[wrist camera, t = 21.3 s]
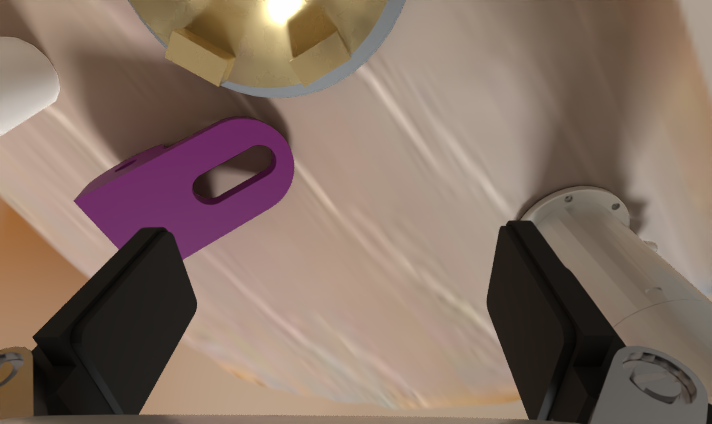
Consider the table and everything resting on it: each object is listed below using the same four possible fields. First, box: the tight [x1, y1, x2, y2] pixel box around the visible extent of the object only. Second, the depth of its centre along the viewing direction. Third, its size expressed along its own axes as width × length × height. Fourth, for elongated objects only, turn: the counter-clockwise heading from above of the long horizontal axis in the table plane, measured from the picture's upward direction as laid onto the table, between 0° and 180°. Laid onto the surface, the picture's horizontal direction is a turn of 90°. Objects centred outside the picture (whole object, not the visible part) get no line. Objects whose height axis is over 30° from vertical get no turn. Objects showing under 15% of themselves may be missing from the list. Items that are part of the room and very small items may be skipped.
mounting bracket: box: [74, 116, 294, 260], centre depth 38 cm, size 9×8×18 cm
